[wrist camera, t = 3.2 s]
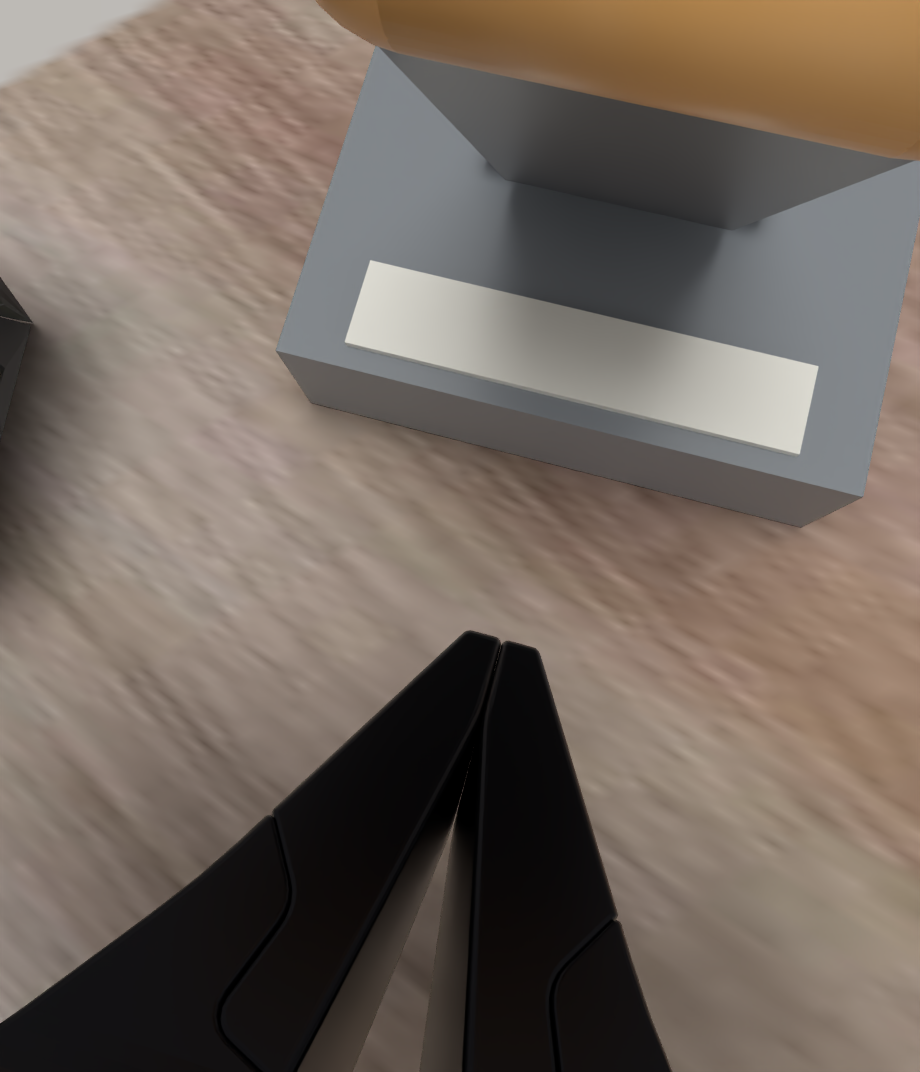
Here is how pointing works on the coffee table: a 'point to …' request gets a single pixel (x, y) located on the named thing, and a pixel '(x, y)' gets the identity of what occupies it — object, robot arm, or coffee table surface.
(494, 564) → the coffee table surface
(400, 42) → the lever
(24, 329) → the electrical switch
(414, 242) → the block
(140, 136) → the coffee table surface
